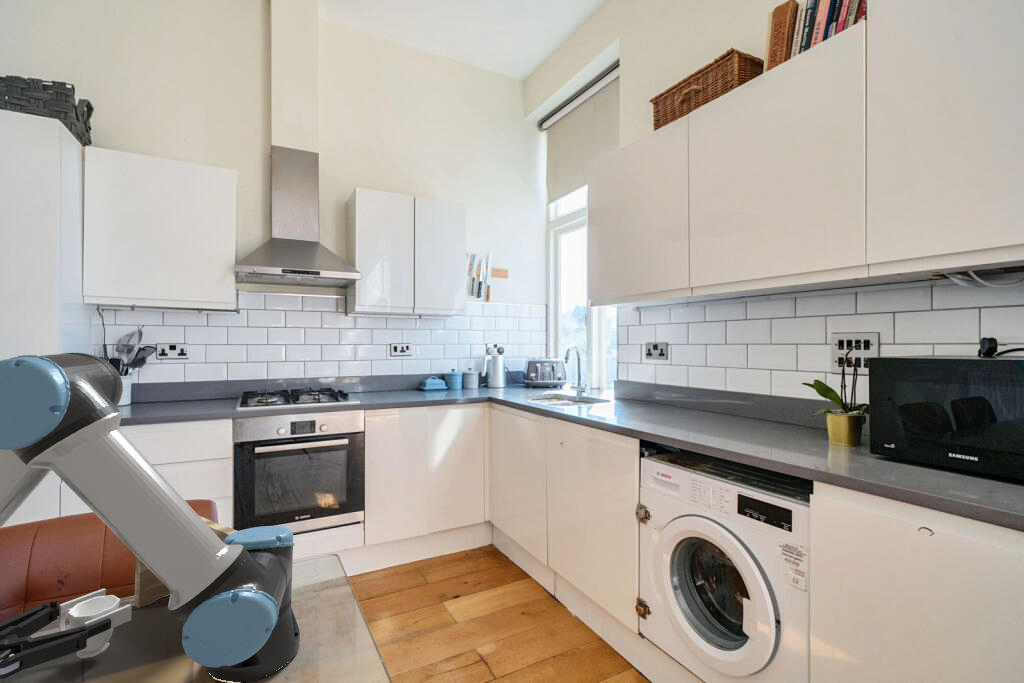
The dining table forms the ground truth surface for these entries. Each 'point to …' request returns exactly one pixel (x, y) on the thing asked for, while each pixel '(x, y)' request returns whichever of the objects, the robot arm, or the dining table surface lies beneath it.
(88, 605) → the cup
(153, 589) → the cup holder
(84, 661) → the dining table surface
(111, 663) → the dining table surface
